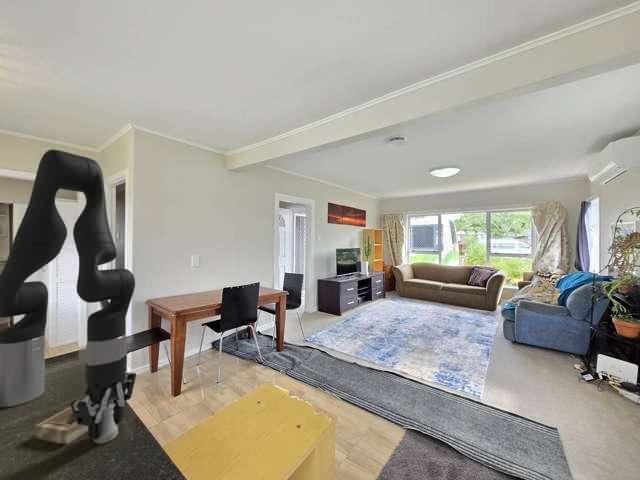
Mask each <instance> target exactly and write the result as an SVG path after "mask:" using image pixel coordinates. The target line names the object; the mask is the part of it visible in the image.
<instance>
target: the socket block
mask: <svg viewBox="0 0 640 480" xmlns="http://www.w3.org/2000/svg"><path fill="white" fill-rule="evenodd" d="M95 413H96V412H95ZM95 413H94V416H95ZM85 433H88V426H85V425H79V424H77V421H76V419H75V416H74V413H73V411H72V408H71V406H69V407H67V408H65V409H64V410H62V411H60V412H58V413H56V414H55V415H52V416H51V417H49V418H47V419H45V420H43V421H42V422H39V423H37V424H35V439H36V440H41V441H46V442H50V443H51V442H52V443H56V444H62V445H69V444H70V443H71V442H73V441H75V440H76V439H78V438H79V437H81V436H82V435H84V434H85Z"/></svg>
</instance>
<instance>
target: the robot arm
mask: <svg viewBox="0 0 640 480" xmlns="http://www.w3.org/2000/svg"><path fill="white" fill-rule="evenodd" d="M36 170H37V171H36V175H35V178H34V182H33V187H32V190H31V193H30V194H31V195H30V198H29V202H28V205H27V206H26V210H25V213H24V214H23V218H22V220H21V222H20V224H19V225H18V229H17V231H16V234H15V236H14V238H13V242H12V245H11V248H10V252H9V254H8V257H7V260H6V262H5V264H4V266H3V269H2V271H1V272H0V318H3V319H4V318H11V317H17V316H23V317H22V318H21V319H20V320H18V321H17V322H15V323H14V324H11V325H10V326H8V327H6V328H3V329H1V330H0V408H9V407H10V408H11V407H15V406H19V405H22V404H25V403H28V402H30V401H33V400H35V399H37V398H39V397H41V396H42V395H43V394H44V393H45V376H46V375H45V368H46V367H45V361H46V360H45V359H46V358H45V357H46V355H45V352H46V351H45V350H46V349H45V348H46V346H45V345H46V339H45V338H46V326H47V318H48V308H49V290H48V287H47V285H46V284H45V283H44V282H42V281H38V280H37V281H36V280H35V281H34V280H33V281H27V279H28V278H30V277H31V276H32V275H33V274H35V273H36V272H38V271H39V270H41V269H42V268H44V267H45V266H47V265H49V263H50V262H52V261H54V259H56V258H57V256H58V255H60V253H61V251H62V249H63V246H64V244H65V242H66V241H67V237H68V230H67V225H66V224H65V221H64V220H63V218H62V216H61V215H60V213H59V210H58V208H57V205H56V196H57V192H58V191H59V190H60V189H61V190H65V191H72V192H78V193H83V195H84V197H85V206H84V208H83V210H82V212H81V213H80V214H79V216H78V217H77V218H76V220H75V223H74V225H73V228H72V229H73V231H72V236H73V240H74V244H75V248H76V251H77V255H78V274H77V281H76V293H77V295H78V297H79V298H80V299H81V300H82V301H83V302H86V303H89V304H94V303H99V302H105V301H109V302H108V304H107V305H106V306H105V307H103V308H102V309H99V310H97V311H94V312H92V313H91V314H89V316H88V317H87V325H86V327H87V328H86V330H87V331H86V333H87V334H86V337H87V338H86V339H87V340H86V346H85V355H84V356H85V357H84V358H85V361H84V362H85V364H84V365H85V366H84V367H85V369H84V371H85V372H84V373H85V375H84V377H85V379H84V381H85V382H86V385H87V387H86V390H85V392H84V395H83V396H82V397H80V398H79V399H76V400H75V399H74V400H73V401H71V403H70V407H71V408H72V411H73V413H74V416H75V419H76V420H75V421H77V424H79V425H85V426H88V431H87V436H88V438H89V439H91V440H94V439H98V438H100V437H101V421H100V419H101V415H102V411H103V410H105V407H106V403H107V402H108V401H109V402H110V401H111V400H113V403H115V407H114V408H113V410H114V413H113V419H114V422H115V423H116V425H119V424H120V423H121V422H122V421H123V418H124V406H125V404H126V402H127V401H130V400H131V398H132V397H133V396H132V395H133V391H134V386H135V382H136V379H137V378H136V377H137V373H134V372H127V370H128V341H127V333H126V332H127V331H126V330H127V319H126V318H127V314H128V312H129V307H130V304H131V301H132V299H133V296H134V292H135V288H136V279H135V275H134V274H133V273H132V272H131V270H129V269H127V268H113V269H111V268H110V269H101V270H99V266H102V265H105V264H108V263H110V262H113V261H114V260H115V259H116V258H117V255H118V253H117V249H116V246H115V245H116V244H115V242H114V239H113V235H112V232H111V229H110V224H109V220H108V213H107V202H106V201H107V200H106V198H107V197H106V191H105V181H104V175H103V171H102V167H101V166H100V164H99V162H97V161H96V160H94V159H92V158H89V157H87V156H83V155H78V154H74V153H70V152H67V151H64V150H59V149H49V150H46V152H44V154H43V155H42V157H41V159H40V161H39V164H38V167H37V169H36ZM95 412H96V413H95ZM94 413H95V416H94Z"/></svg>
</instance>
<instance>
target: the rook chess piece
mask: <svg viewBox="0 0 640 480" xmlns="http://www.w3.org/2000/svg"><path fill="white" fill-rule="evenodd" d="M114 407H115V403H113V400H109V401H108V402H107V403H106V407H105V410H103V411H102V415H101V419H100V421H101V437H100V438H98V439H93V442H94V443H95V444H97V445H102V444H107V443H109V442H111V441H112V440H113V439H115V438H116V437H117V435H118V434H119V430H118V429H119V427H118V424H116V423H115V422H114V419H113V413H114V410H113V408H114Z"/></svg>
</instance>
